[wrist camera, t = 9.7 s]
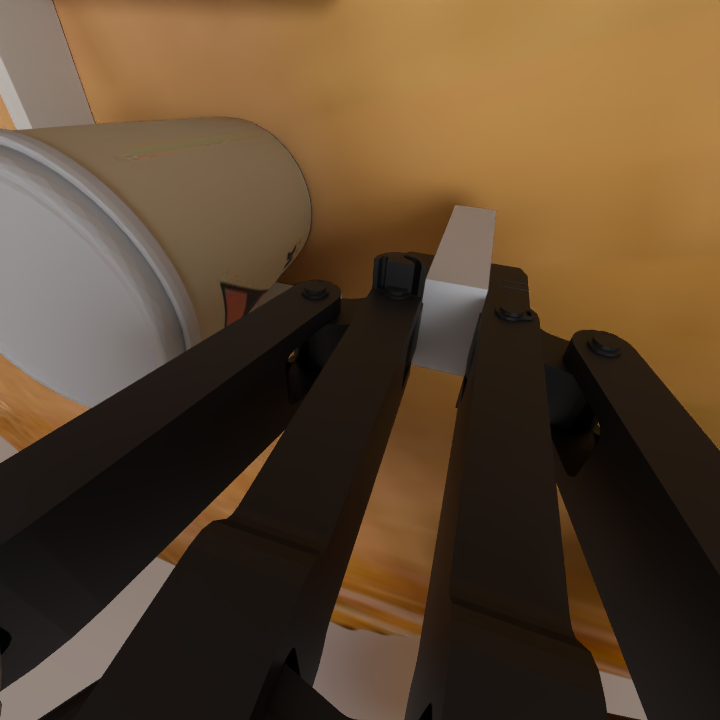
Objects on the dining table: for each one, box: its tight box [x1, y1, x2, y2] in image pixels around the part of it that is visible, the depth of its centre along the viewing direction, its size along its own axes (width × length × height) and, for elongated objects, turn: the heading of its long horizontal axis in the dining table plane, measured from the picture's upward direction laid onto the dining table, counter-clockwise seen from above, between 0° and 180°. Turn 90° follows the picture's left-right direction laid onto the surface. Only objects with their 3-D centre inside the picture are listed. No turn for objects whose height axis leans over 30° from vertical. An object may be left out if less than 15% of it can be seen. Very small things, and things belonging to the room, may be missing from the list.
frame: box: [0, 0, 342, 313], centre depth 19 cm, size 15×15×4 cm
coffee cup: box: [0, 118, 311, 408], centre depth 16 cm, size 9×9×12 cm
